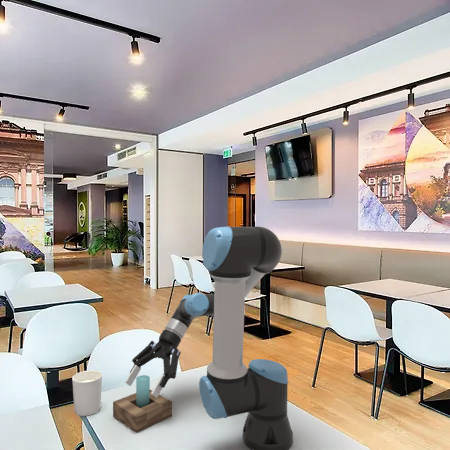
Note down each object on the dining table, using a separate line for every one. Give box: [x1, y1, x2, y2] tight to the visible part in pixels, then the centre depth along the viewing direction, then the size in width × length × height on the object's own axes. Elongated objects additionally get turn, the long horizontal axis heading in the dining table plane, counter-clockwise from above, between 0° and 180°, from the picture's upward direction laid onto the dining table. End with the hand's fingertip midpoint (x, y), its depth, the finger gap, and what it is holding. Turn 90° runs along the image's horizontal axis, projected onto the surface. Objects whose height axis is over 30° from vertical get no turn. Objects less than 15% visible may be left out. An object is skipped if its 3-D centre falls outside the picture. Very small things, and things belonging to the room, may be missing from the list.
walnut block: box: [112, 389, 173, 434], centre depth 130 cm, size 14×14×5 cm
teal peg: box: [135, 375, 151, 408], centre depth 130 cm, size 4×4×12 cm
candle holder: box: [71, 370, 103, 417], centre depth 134 cm, size 10×10×12 cm
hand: (140, 389), depth 130 cm, fingers open, 13 cm apart
